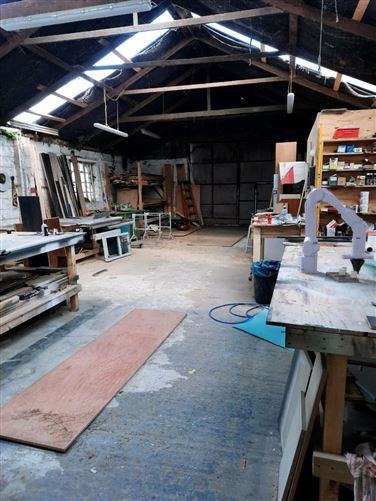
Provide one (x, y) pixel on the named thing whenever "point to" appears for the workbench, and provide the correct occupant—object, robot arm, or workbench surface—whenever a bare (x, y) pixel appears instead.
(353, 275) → the breaker near
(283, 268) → the workbench surface
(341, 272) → the breaker mid
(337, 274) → the panel
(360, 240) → the robot arm
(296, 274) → the workbench surface
